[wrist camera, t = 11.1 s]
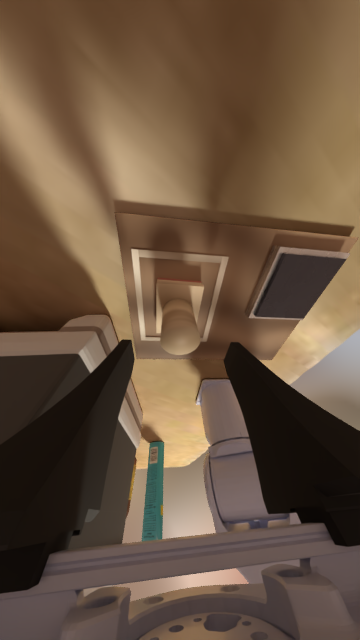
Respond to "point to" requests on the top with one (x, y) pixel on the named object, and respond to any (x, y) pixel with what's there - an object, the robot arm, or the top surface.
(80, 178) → the top surface
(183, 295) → the stamp
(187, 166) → the top surface
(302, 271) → the ink pad
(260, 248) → the board
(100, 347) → the toaster
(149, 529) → the tube
